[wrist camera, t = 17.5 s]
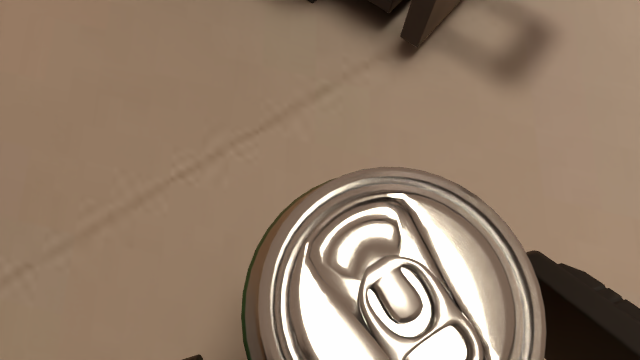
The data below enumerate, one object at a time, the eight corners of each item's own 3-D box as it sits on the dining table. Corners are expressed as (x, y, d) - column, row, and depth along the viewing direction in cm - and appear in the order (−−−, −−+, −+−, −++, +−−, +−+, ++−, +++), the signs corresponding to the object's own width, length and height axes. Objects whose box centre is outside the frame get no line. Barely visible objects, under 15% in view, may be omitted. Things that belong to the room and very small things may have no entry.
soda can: (352, 248, 18) (431, 99, 7) (418, 349, 17) (648, 356, 6) (255, 308, 17) (172, 240, 6) (316, 423, 15) (358, 616, 4)
